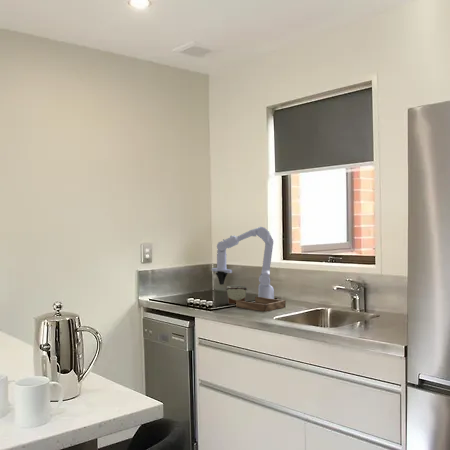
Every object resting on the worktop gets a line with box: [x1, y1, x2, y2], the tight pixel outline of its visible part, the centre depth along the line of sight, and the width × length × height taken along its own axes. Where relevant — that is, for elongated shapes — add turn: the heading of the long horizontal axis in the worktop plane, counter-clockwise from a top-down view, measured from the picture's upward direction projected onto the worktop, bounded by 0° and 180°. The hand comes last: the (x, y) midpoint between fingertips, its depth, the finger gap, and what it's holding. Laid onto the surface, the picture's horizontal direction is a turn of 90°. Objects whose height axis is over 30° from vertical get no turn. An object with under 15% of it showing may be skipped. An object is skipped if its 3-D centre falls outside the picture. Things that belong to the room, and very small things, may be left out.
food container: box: [225, 285, 248, 305], centre depth 303 cm, size 12×6×10 cm, turn 84°
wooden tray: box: [235, 296, 287, 312], centre depth 291 cm, size 18×21×4 cm
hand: (221, 284), depth 311 cm, fingers closed
